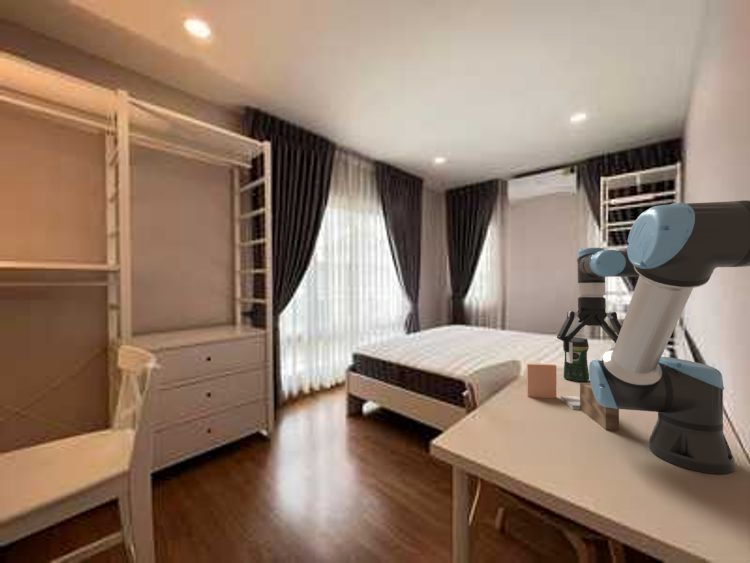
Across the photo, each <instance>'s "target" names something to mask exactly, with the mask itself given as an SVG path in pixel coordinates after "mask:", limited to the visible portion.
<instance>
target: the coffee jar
mask: <svg viewBox="0 0 750 563" xmlns="http://www.w3.org/2000/svg"><path fill="white" fill-rule="evenodd" d="M570 342H572V348H573V363H569V362H567V361H566V352H565V351H564V365H563V373H562V374H563V378H564V379H565V380H568V381H572V380H573V381H574V382H579V383H588V382H589V381H590V376H589V365H588V350H589V349H590V348H589V347H590V346H589V341H588V338H583V337H577V336H574V337H573V338H572V339H571V340H570Z"/></svg>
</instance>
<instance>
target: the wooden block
mask: <svg viewBox="0 0 750 563" xmlns="http://www.w3.org/2000/svg"><path fill="white" fill-rule="evenodd" d="M560 401H562V402H563V403H565V404H566V405H567V406H568V407H569V408H570V409H572V410H577V411H579V410H580V411H581V412H582V413H583V414H585V415H586V416H587V417H589V418H590V419H591V420H592V421H593V422H595V423H596V424H597V425H599V426H600V427H601V428H602V429H604V430H605V431H615V432H617V431H620V409H615V408H608V407H603V406H601V405H600V404H599V403H598V402H597V401H596V399H595V397H594V394H593V391H592V387H591V383H590V382H579V396H569V395H560Z"/></svg>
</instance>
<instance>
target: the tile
mask: <svg viewBox="0 0 750 563" xmlns="http://www.w3.org/2000/svg"><path fill="white" fill-rule="evenodd" d="M526 397H527V398H544V399H547V398H548V399H557V364H548V363H547V364H546V363H526Z"/></svg>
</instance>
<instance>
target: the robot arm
mask: <svg viewBox="0 0 750 563" xmlns="http://www.w3.org/2000/svg"><path fill="white" fill-rule="evenodd" d="M627 243H628V245H627V246H626V250H615V249H604V248H602V247H585V248H580V249H578V251H577V258H576V262H577V295H578V296H579V297H577V308H578V310H577V311H572V310H568V311H567V313H566V319H565V320H564V323H563V324H562V326H561V328H560V330H559V332H558V334H557V335H556V338H557V339H558V340H560V341H562V342H563V343H562V344H563V345H562V348H563V349H562V350H563V352H564V353H565V352H566V361H567V362H569V363H573V348H572V342H570V340H571V339H572V338H573V337H576V335H577V334H578V333H579V331H580V330H581V329H582V328H584V327H585V326H588V327H591V326H595V327H600V328H601V329H602V330H603V331H604V332H605V334H607V335H608V337H609V338H610V339H611V340H612V342H610V344H611V346H610V349H607V350H606V351H605V353H604V354H603V357H602V360H599V359H595V360H590V363H589V365H588V371H589V383H591V387H592V391H593V394H594V397H595V399H596V401H597V402H598V403H599V404H600V405H601V406H603V407H608V408H615V409H619V410H627V411H628V410H629V411H641V412H654V413H657V420H656V422H655V425H654V426H653V429H652V431H651V434H650V436H649V438H648V440H649V442H648V447H649V450H650V452H652V454H653V455H655V456H657V457H658V458H660V459H662V460H664V461H666V462H669V463H671V464H674V465H676V466H679V467H682V468H685V469H688V470H692V471H695V472H699V473H700V472H701V473H706V474H707V473H708V474H715V475H716V474H718V475H725V474H726V475H727V474H729V473H733V472H734V471H735V459H734V458H735V457H734V455H733V453H732V450H731V448H730V445H729V444H728V441H727V438H726V436H725V433H724V390H725V387H724V380H723V375H722V373H721V371H720V370H719V369H717V368H715V367H713V366H711V365H708V364H704V363H700V362H695V361H691V360H687V359H682V358H676V357H670V356H669V357H668V356H662V355H663V354H664V352H665V349H666V347H667V346H668V343H669V341H670V339H671V336H672V335H673V333H674V330H675V328H676V326H677V324H678V322H679V319H680V317H681V315H682V313H683V311H684V309H685V308H686V305H687V303H688V300H689V298H690V296H691V294H692V292H693V290H694V289H695V288H699V287H702V286H704V285H706V284H708V282H709V280H710V278H711V277H712V276H713V275H712V274H713V273H714V270H716V269H717V268H742V267H743V268H744V267H745V268H746V267H750V199H749V200H744V199H743V200H734V201H733V200H732V201H714V202H713V201H711V202H692V203H691V202H690V203H685V202H673V203H671V204H662V205H661V204H660V205H655V206H652V207H650V208H648V209H646V210H645V211H643V212H642V213H640V215H639V216H637V218H636V219H635V221H634V222H633V224H632V226H631V228H630V231H629V233H628V237H627ZM606 277H608V278H609V277H615V278H616V277H617V278H618V277H626V278H628V277H634V278H635V277H638V279H637V280H636V284H635V288H634V290H633V293H632V296H631V299H630V301H629V305H628V307H627V310H626V314H625V315H624V319H623V323H622V325H621V323H620V321H619V319H618V314H617V312H616V311H608V312H606V307H607V305H606V302H607V301H606V299H607V298H605V297H604V296H605V295H606ZM576 318H578V320H577V321H576V322H575V324H574V326H572V324H573V322H574V320H575V319H576ZM606 318H607V319H608V320H609V322H610V324H611V326H612V327H613V329H614V330H613V329H612V328H611V327H610V325H609V324H608V323H607V321H606V320H605V319H606ZM571 326H572V328H571ZM570 328H571V329H570Z"/></svg>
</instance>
